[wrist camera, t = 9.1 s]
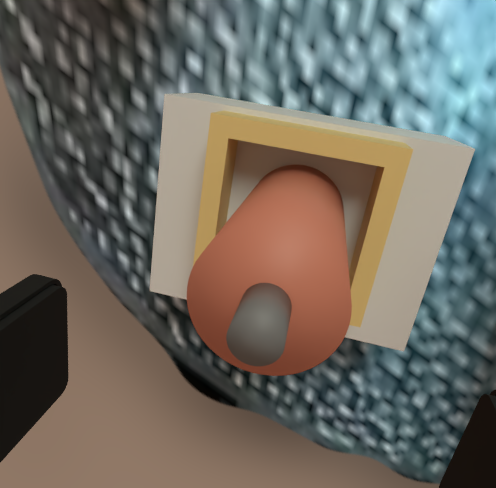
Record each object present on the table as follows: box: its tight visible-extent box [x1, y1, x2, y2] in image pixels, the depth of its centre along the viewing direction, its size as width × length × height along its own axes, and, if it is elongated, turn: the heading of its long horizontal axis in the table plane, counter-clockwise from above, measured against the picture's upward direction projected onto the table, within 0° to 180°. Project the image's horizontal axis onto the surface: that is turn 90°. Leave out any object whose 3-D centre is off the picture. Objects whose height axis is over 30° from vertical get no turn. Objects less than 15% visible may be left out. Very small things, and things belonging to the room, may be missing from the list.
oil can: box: [187, 165, 352, 376], centre depth 17 cm, size 5×5×13 cm
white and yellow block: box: [150, 93, 475, 351], centre depth 25 cm, size 16×12×8 cm
